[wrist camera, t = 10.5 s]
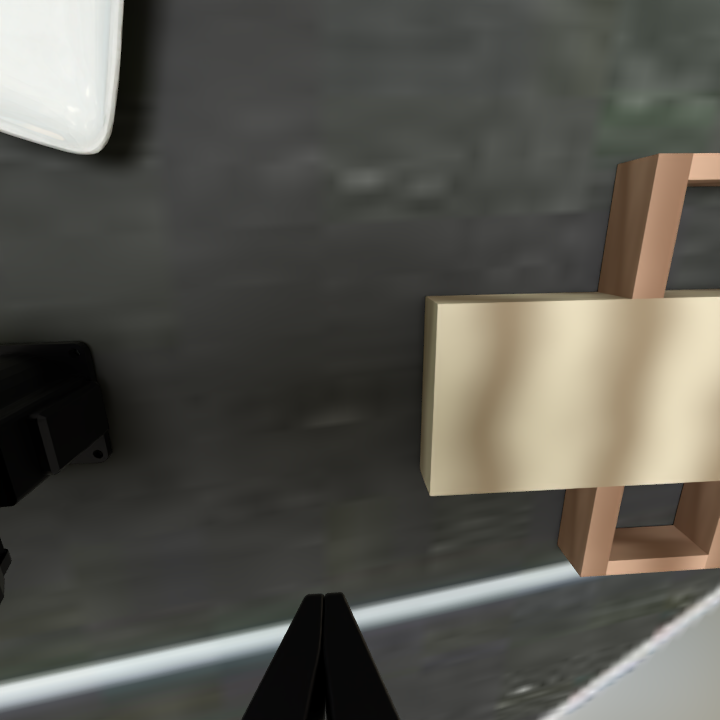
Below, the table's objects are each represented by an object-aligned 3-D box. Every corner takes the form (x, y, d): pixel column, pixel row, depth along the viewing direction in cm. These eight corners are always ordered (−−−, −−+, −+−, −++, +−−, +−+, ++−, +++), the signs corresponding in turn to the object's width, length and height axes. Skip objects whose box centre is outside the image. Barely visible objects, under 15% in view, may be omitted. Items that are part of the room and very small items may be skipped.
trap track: (417, 553, 25) (426, 587, 22) (429, 165, 18) (444, 154, 16) (807, 529, 26) (855, 559, 24) (947, 162, 20) (1032, 151, 17)
